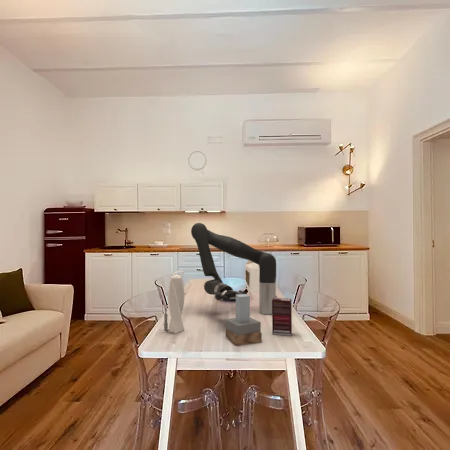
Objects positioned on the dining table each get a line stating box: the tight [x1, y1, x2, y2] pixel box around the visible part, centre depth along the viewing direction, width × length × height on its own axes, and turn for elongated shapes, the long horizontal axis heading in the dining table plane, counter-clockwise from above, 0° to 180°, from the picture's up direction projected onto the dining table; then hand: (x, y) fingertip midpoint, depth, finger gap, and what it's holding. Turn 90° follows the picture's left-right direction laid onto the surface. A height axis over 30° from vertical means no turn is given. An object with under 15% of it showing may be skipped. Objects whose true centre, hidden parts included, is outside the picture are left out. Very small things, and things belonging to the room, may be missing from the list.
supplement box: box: [271, 297, 293, 337], centre depth 154 cm, size 9×5×16 cm, turn 74°
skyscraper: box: [163, 270, 185, 335], centre depth 158 cm, size 8×8×28 cm
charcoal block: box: [225, 317, 262, 336], centre depth 147 cm, size 11×11×4 cm
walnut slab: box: [225, 328, 263, 347], centre depth 147 cm, size 12×12×4 cm
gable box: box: [244, 260, 260, 293], centre depth 258 cm, size 22×13×28 cm, turn 8°
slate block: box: [235, 293, 251, 323], centre depth 147 cm, size 5×5×11 cm
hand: (235, 298), depth 155 cm, fingers open, 8 cm apart
